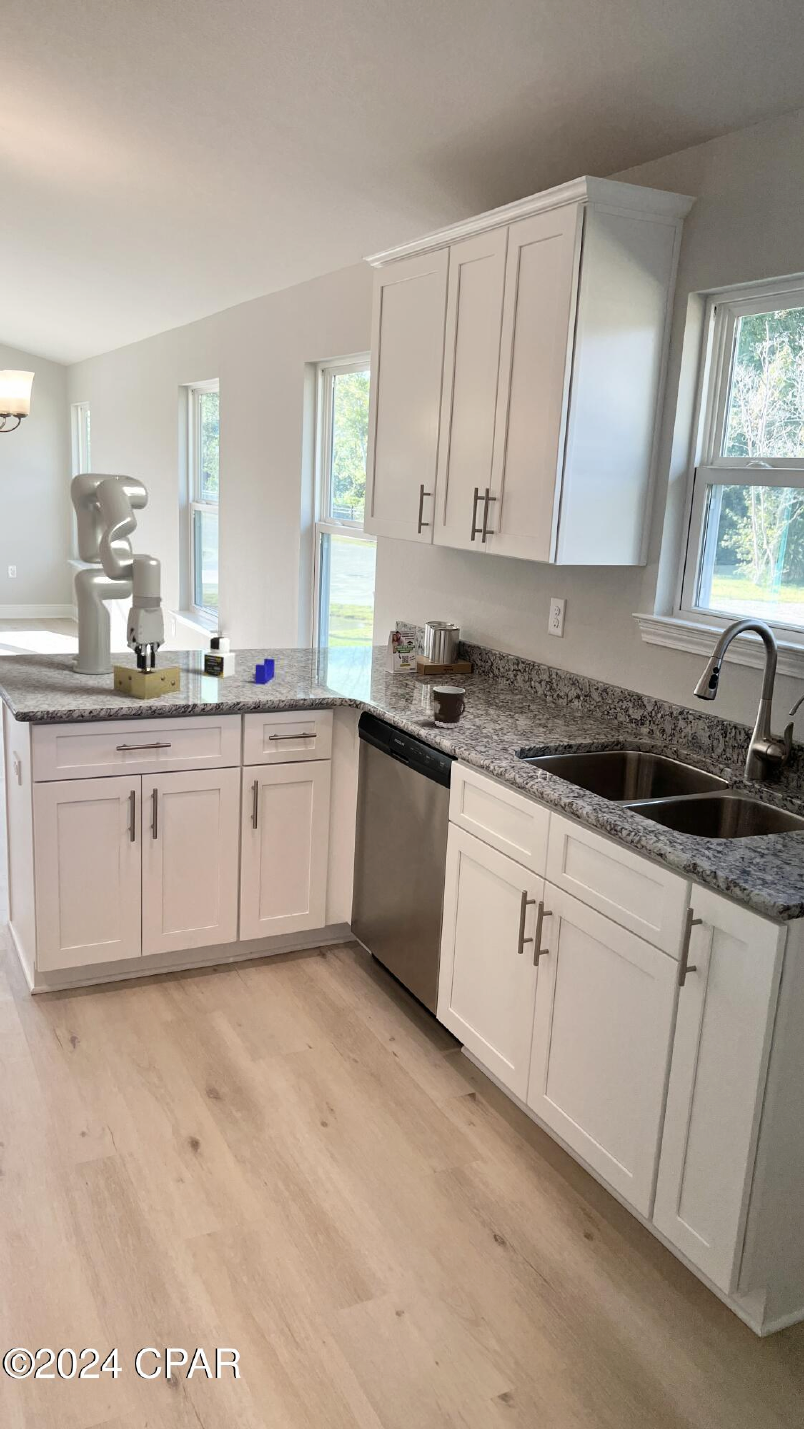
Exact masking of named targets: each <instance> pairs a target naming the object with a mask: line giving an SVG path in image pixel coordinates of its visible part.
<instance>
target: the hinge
mask: <svg viewBox="0 0 804 1429" xmlns="http://www.w3.org/2000/svg"><path fill="white" fill-rule="evenodd" d="M113 666H114V672H113V690H114V689H116V690H115V691H118V690H119V692H123V691H124V692H123V693H127V692H128V694H130V695H131V697H132V696H135V697H134V698H136V697H138V698H137V699H141V700H144V699H147V700H151V699H156V698H155V697H157V698H161V695H163V694H165V695H166V694H169V692H170V693H174V692H173V691H176V692H181V667H180V666H176V667H175V666H174V667H168V668H162V669H157V670H151V674H142V673H141V669H139V670H138V669H135V668H130V667H125V666H120V665H117V664H116V665H113Z"/></svg>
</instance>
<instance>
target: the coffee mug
mask: <svg viewBox="0 0 804 1429" xmlns="http://www.w3.org/2000/svg"><path fill="white" fill-rule="evenodd" d="M432 690H433V691H432V694H433V695H432V696H433V698H432V699H433V714H434V716H433V717H434V719H435V720H434V722H435V721H439V722H443V723H457V722H459V723H460V720H461V719H460V718H461V717H462V715H463V714H464V712H465V711H466V702H465V701H464V698H465V694H466V690H465V689H464V688H460V687H455V686H447V685H445V686H443V685H442V686H434V687H433V688H432Z"/></svg>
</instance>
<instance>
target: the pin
mask: <svg viewBox="0 0 804 1429" xmlns="http://www.w3.org/2000/svg"><path fill="white" fill-rule="evenodd" d="M145 655H146V669H140V671H141V673H142V674H151V671H152V668H151V643H150V644H145Z"/></svg>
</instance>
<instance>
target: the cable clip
mask: <svg viewBox="0 0 804 1429" xmlns="http://www.w3.org/2000/svg"><path fill="white" fill-rule="evenodd" d="M263 661H264V662H263V664H258V663H257V664H256V665H255V673H254V674H255V677H254V684H255V685H266V684H268V683H269V682H270V681H271V680H273V678H275V659H273V658H264V660H263Z"/></svg>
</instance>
